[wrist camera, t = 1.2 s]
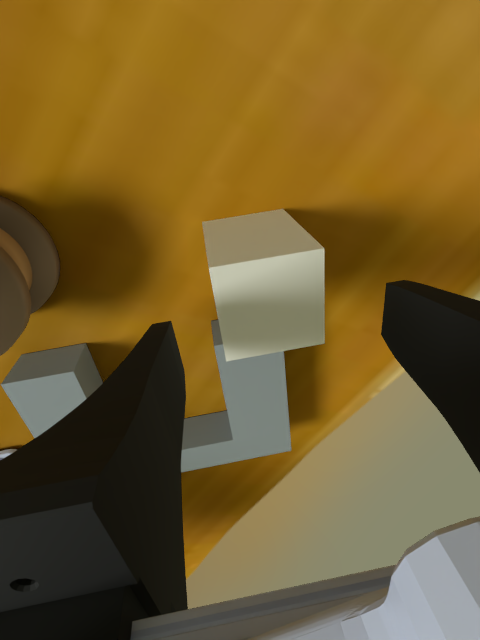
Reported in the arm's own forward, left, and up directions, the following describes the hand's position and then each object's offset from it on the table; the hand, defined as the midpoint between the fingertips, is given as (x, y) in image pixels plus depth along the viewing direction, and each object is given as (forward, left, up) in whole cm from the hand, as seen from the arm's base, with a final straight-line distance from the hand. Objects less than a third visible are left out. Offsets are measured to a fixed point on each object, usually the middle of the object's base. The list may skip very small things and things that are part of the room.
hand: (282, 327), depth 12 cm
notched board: (-6, -8, -7) cm, 12 cm away
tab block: (0, 0, -7) cm, 7 cm away
